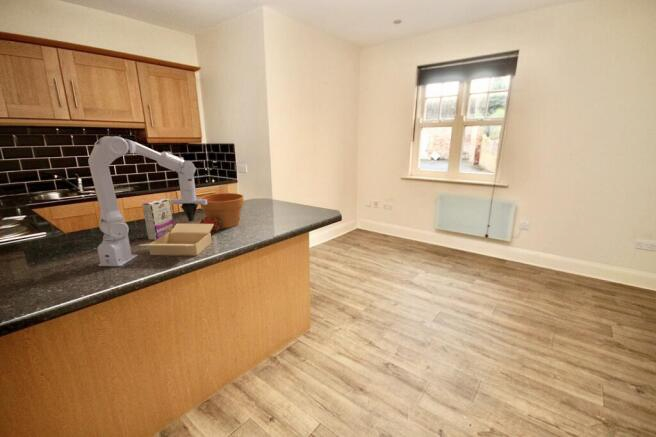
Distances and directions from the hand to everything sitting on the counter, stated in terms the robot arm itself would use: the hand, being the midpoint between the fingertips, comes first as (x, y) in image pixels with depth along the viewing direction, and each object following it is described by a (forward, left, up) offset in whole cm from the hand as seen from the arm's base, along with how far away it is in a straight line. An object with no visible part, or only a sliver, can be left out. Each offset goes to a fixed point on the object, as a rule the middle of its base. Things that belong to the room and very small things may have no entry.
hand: (191, 220), depth 124 cm
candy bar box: (+5, +17, -9) cm, 20 cm away
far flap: (0, 0, -3) cm, 3 cm away
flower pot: (+24, -5, -9) cm, 26 cm away
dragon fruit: (+11, -3, -9) cm, 15 cm away
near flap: (-20, 0, -3) cm, 20 cm away
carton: (-10, 0, -9) cm, 13 cm away
